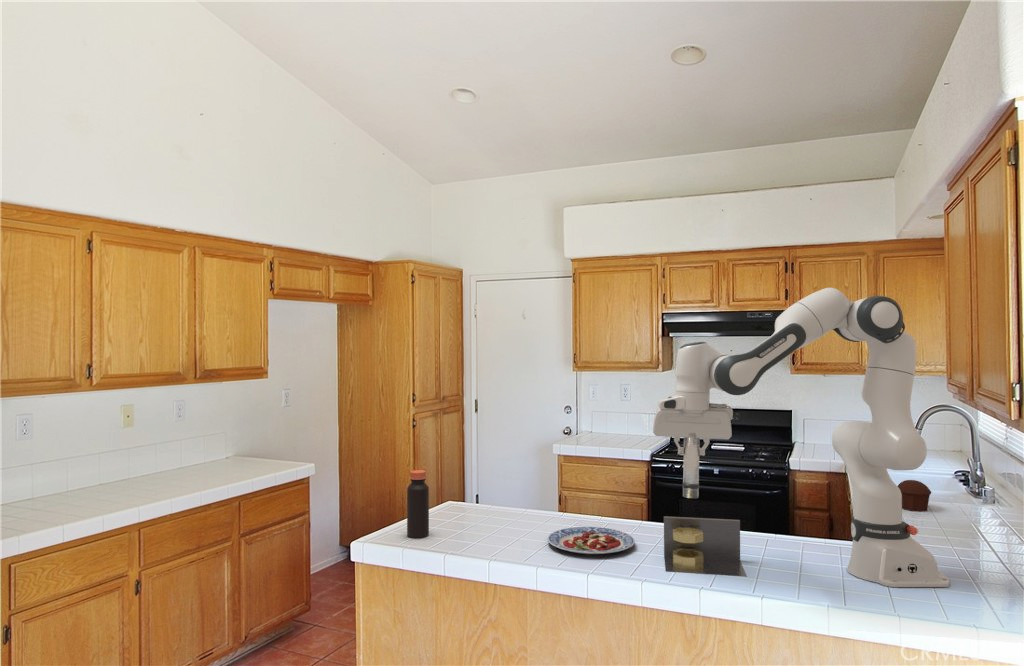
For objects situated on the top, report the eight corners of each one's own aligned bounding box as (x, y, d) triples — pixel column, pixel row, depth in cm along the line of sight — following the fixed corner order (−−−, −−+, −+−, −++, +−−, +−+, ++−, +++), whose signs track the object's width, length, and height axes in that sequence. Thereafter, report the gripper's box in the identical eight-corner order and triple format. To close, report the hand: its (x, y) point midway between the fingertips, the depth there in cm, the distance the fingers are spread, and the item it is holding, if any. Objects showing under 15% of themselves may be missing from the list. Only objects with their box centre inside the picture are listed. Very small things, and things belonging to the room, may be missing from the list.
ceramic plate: (584, 528, 214) (584, 519, 214) (652, 546, 196) (652, 536, 196) (529, 546, 196) (529, 536, 196) (598, 567, 178) (598, 555, 178)
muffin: (891, 503, 245) (891, 476, 245) (924, 505, 242) (924, 478, 243) (901, 511, 234) (900, 483, 234) (936, 513, 231) (936, 485, 231)
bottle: (422, 539, 202) (422, 474, 203) (403, 537, 205) (403, 472, 205) (432, 533, 209) (432, 470, 209) (413, 531, 211) (413, 468, 211)
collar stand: (739, 564, 179) (739, 519, 179) (747, 581, 166) (746, 533, 166) (664, 559, 183) (663, 516, 183) (665, 576, 170) (665, 529, 170)
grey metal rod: (698, 495, 177) (699, 431, 177) (699, 498, 173) (700, 433, 173) (682, 494, 178) (683, 431, 178) (682, 497, 174) (684, 433, 174)
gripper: (731, 403, 177) (730, 454, 177) (653, 400, 181) (652, 450, 181) (734, 405, 171) (733, 458, 170) (653, 402, 175) (652, 454, 174)
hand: (691, 454), depth 175 cm, fingers closed on grey metal rod, 4 cm apart
